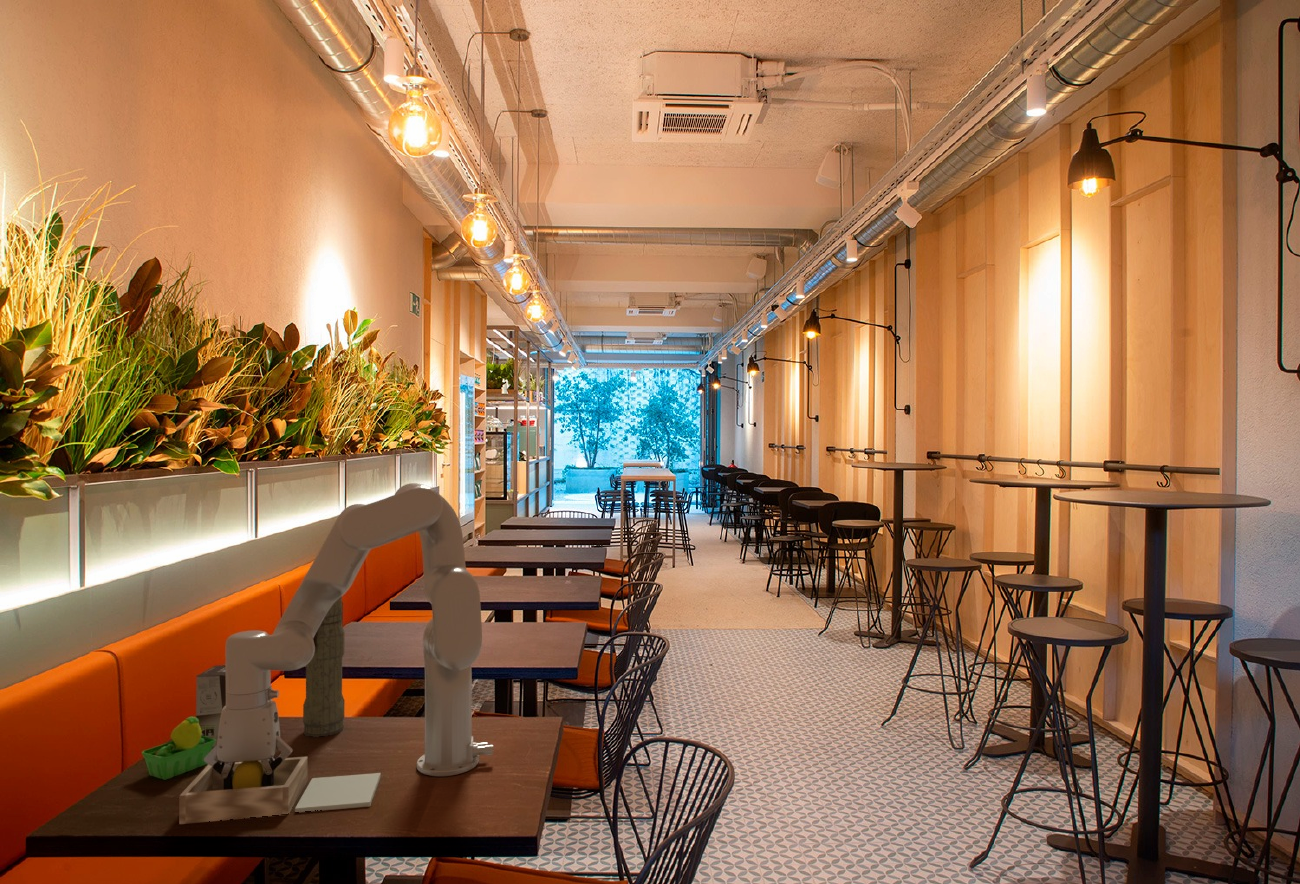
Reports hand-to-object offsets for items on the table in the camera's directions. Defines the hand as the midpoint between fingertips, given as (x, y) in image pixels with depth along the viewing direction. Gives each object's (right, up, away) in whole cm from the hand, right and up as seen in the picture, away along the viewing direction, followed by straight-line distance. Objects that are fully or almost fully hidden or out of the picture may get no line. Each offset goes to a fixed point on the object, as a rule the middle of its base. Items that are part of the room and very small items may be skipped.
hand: (248, 793), depth 143 cm
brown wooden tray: (0, -1, 0) cm, 1 cm away
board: (+16, -1, +3) cm, 16 cm away
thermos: (-1, -2, +36) cm, 36 cm away
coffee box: (-23, -2, +30) cm, 38 cm away
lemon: (0, -1, 0) cm, 1 cm away
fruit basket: (-21, -2, +14) cm, 26 cm away
